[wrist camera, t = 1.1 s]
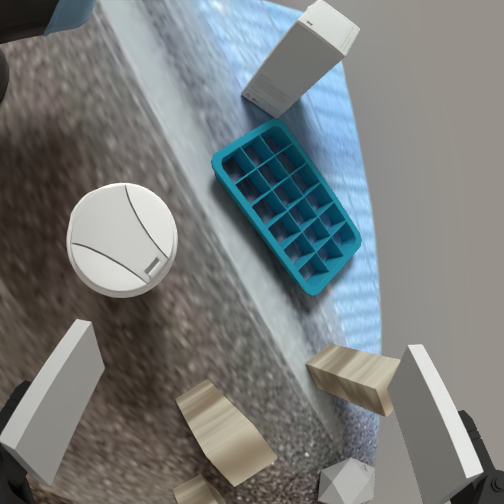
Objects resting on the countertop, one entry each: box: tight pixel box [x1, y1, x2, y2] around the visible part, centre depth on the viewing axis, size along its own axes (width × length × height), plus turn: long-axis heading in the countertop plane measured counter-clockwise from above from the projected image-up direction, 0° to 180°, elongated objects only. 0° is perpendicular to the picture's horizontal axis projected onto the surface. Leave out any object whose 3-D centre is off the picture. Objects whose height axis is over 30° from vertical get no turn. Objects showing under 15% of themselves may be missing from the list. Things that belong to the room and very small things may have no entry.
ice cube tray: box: [211, 119, 362, 296], centre depth 38 cm, size 12×20×3 cm, turn 40°
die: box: [318, 457, 375, 504], centre depth 36 cm, size 8×9×10 cm
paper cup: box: [67, 183, 177, 298], centre depth 25 cm, size 8×8×14 cm
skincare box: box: [241, 0, 360, 119], centre depth 33 cm, size 8×7×16 cm
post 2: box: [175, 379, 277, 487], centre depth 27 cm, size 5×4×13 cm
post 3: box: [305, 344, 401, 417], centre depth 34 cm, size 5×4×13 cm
